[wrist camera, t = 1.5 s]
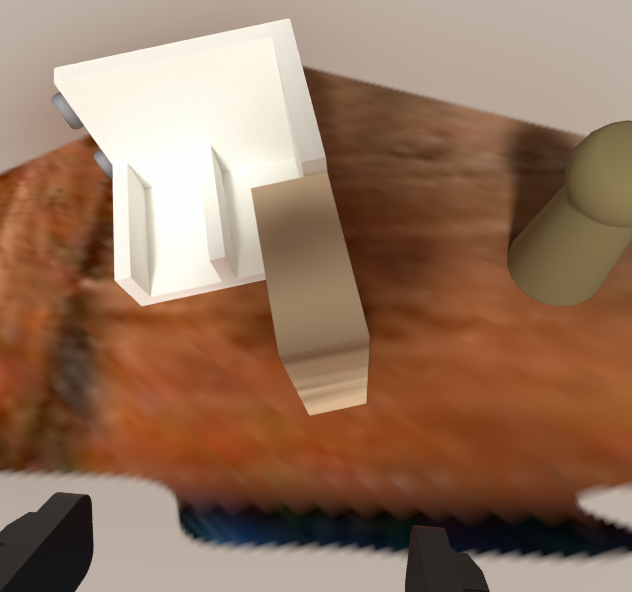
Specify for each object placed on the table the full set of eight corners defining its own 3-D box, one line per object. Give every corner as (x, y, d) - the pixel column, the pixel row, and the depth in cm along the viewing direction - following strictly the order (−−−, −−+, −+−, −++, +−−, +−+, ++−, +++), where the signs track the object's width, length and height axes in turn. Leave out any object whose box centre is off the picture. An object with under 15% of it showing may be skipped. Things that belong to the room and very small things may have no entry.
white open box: (336, 264, 33) (325, 156, 23) (126, 309, 33) (25, 220, 23) (308, 150, 37) (289, 18, 27) (123, 189, 37) (36, 71, 27)
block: (366, 403, 29) (369, 337, 18) (309, 415, 29) (279, 356, 18) (338, 286, 32) (327, 171, 22) (287, 297, 32) (250, 188, 22)
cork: (491, 240, 33) (549, 120, 23) (574, 214, 33) (666, 85, 23) (533, 318, 30) (618, 222, 20) (622, 290, 31) (749, 182, 21)
